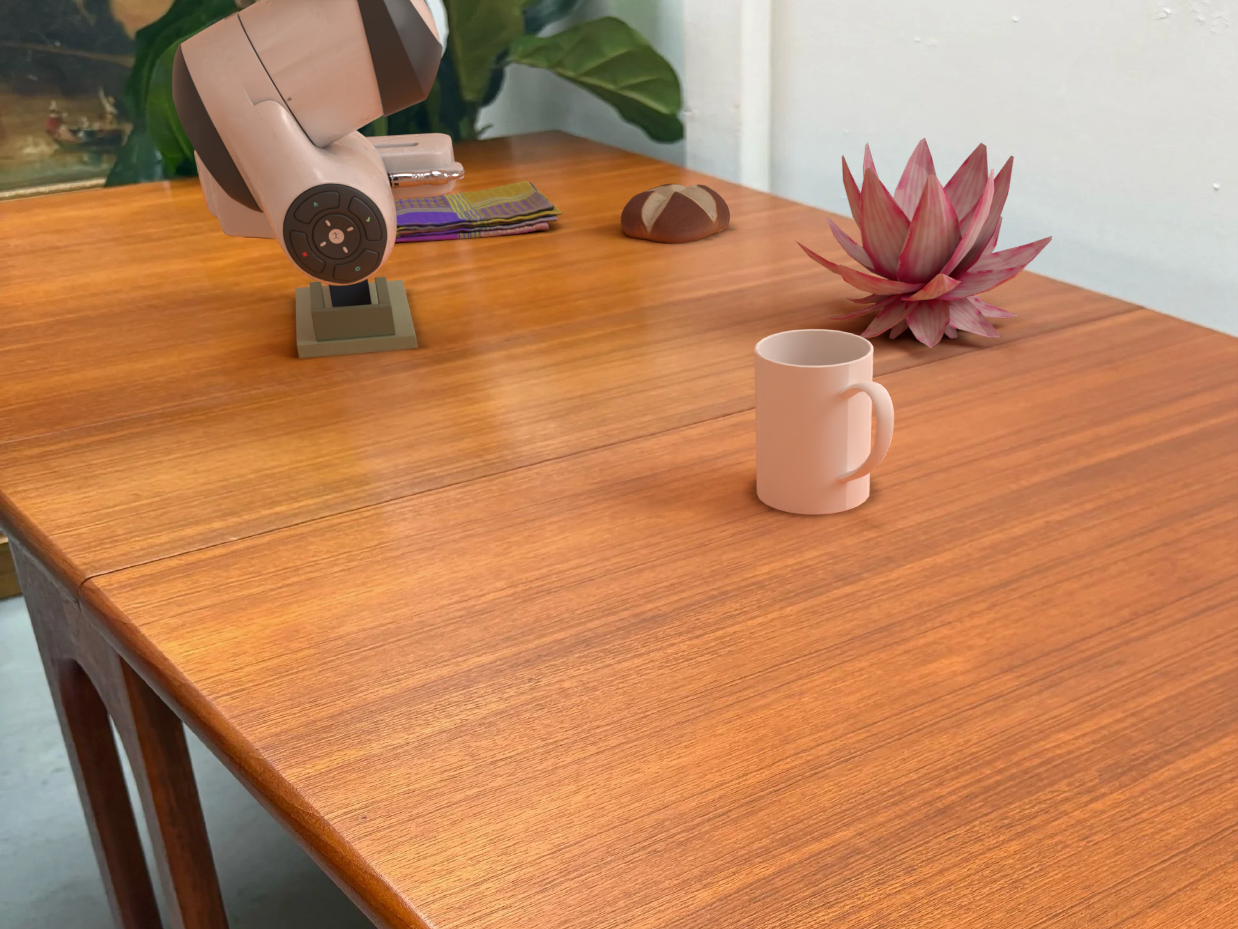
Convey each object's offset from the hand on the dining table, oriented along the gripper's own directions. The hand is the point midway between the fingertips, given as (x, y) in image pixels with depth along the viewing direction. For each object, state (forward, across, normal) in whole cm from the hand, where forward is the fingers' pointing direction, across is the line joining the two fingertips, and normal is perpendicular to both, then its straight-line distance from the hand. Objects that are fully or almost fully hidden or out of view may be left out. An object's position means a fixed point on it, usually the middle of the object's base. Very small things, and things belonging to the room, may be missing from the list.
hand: (326, 150), depth 127 cm
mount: (+2, 0, +16) cm, 16 cm away
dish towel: (+38, -11, +16) cm, 43 cm away
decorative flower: (-14, -49, +16) cm, 53 cm away
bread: (+27, -35, +16) cm, 47 cm away
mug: (-49, -30, +16) cm, 59 cm away
